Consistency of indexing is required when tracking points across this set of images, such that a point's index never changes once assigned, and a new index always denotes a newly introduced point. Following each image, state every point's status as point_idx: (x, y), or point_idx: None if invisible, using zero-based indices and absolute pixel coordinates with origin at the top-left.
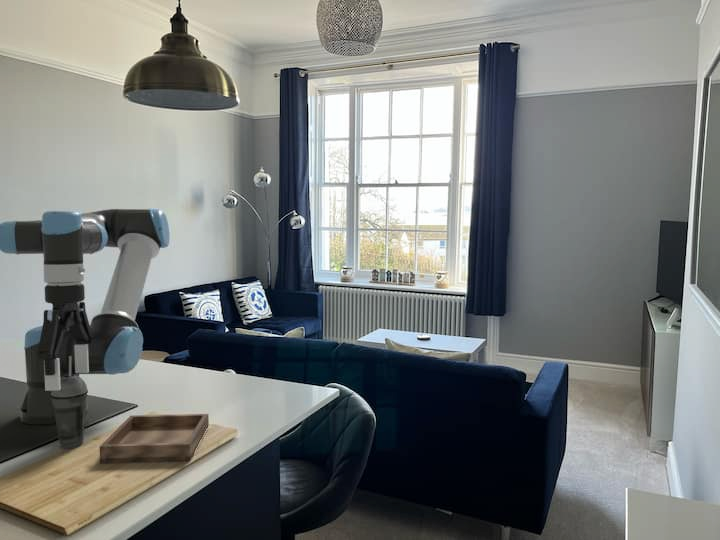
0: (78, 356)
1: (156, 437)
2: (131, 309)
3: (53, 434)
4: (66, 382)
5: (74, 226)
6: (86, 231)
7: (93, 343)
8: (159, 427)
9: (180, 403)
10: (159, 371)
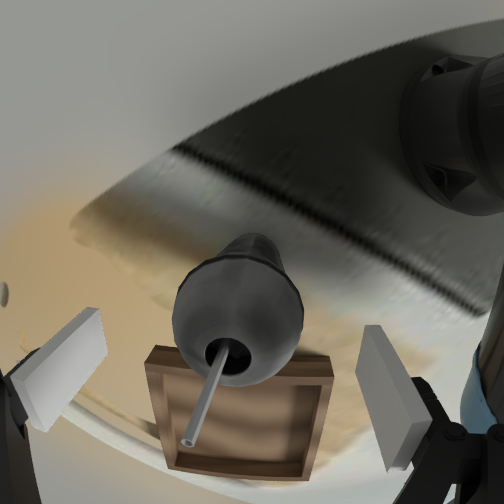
0: (383, 391)
1: (252, 416)
2: None
3: (331, 182)
4: (184, 352)
5: None
6: None
7: None
8: (308, 411)
9: (460, 391)
10: None
